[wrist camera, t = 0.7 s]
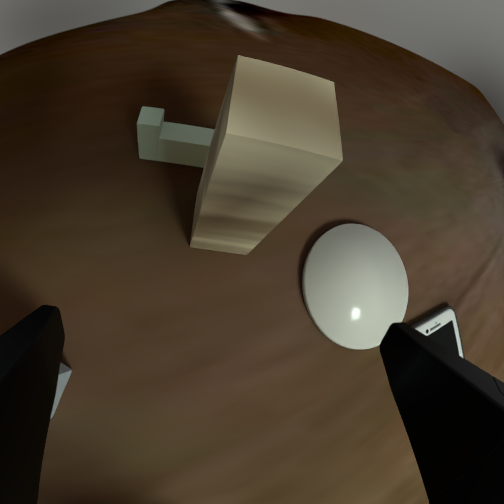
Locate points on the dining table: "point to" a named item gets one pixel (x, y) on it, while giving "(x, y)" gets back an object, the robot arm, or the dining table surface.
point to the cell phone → (442, 329)
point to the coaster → (354, 286)
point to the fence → (171, 139)
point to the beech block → (264, 154)
